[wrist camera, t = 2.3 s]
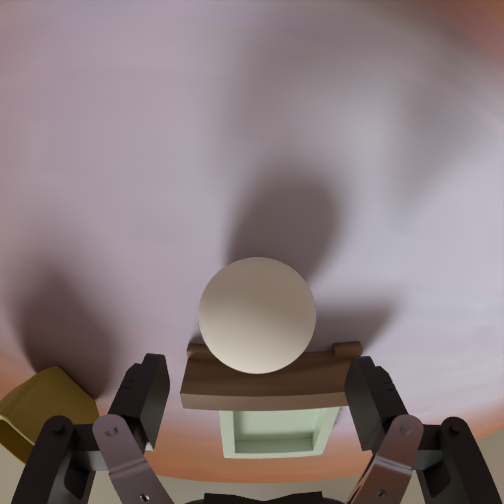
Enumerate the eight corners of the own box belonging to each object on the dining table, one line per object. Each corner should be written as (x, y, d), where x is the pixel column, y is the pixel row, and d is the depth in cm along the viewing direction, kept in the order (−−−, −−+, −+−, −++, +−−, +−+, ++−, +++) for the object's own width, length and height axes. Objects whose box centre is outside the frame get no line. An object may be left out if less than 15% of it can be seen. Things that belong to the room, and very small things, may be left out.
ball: (203, 239, 17) (182, 292, 11) (309, 241, 17) (338, 293, 11) (208, 327, 19) (196, 395, 13) (300, 327, 19) (317, 395, 14)
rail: (188, 343, 20) (178, 385, 16) (359, 341, 20) (377, 380, 16) (192, 373, 21) (184, 414, 17) (351, 371, 21) (364, 409, 17)
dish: (219, 379, 21) (217, 400, 19) (337, 377, 21) (343, 396, 19) (225, 440, 24) (224, 457, 22) (318, 437, 24) (321, 454, 22)
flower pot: (18, 367, 22) (-22, 425, 13) (51, 340, 20) (-1, 415, 12) (77, 422, 24) (50, 484, 16) (121, 407, 23) (94, 486, 14)
